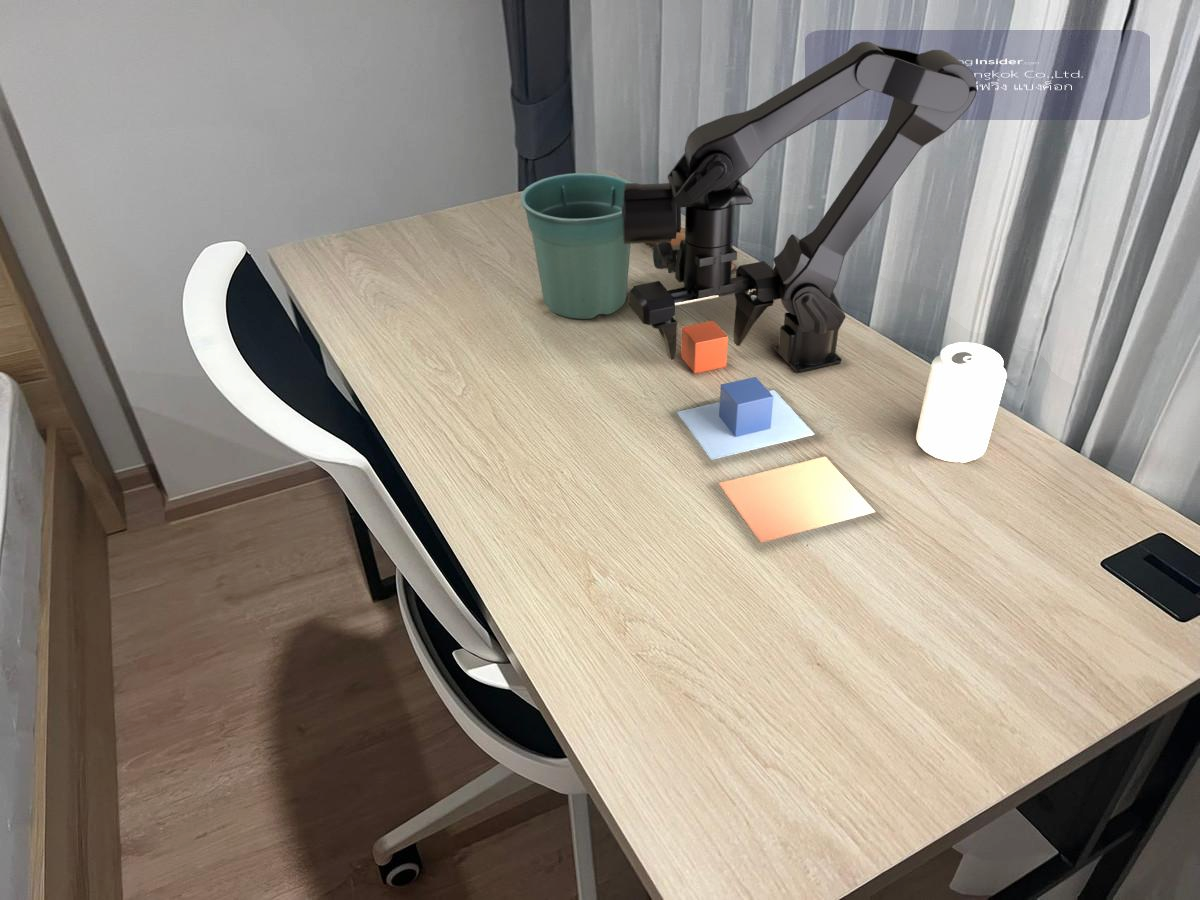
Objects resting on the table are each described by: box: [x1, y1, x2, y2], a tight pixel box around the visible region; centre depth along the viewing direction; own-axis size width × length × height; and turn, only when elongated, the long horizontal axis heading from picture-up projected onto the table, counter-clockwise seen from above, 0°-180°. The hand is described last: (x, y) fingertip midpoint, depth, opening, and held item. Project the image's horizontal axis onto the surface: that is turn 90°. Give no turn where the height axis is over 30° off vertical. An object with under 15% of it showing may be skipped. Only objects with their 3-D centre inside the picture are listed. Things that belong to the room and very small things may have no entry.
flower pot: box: [520, 172, 633, 320], centre depth 127 cm, size 16×16×16 cm
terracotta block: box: [680, 320, 729, 374], centre depth 116 cm, size 4×4×4 cm
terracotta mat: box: [717, 455, 876, 544], centre depth 94 cm, size 13×10×1 cm
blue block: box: [719, 376, 774, 437], centre depth 104 cm, size 4×4×4 cm
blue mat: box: [676, 389, 816, 461], centre depth 105 cm, size 13×10×1 cm
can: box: [915, 342, 1007, 464], centre depth 97 cm, size 8×8×12 cm
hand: (704, 351), depth 116 cm, fingers open, 9 cm apart
